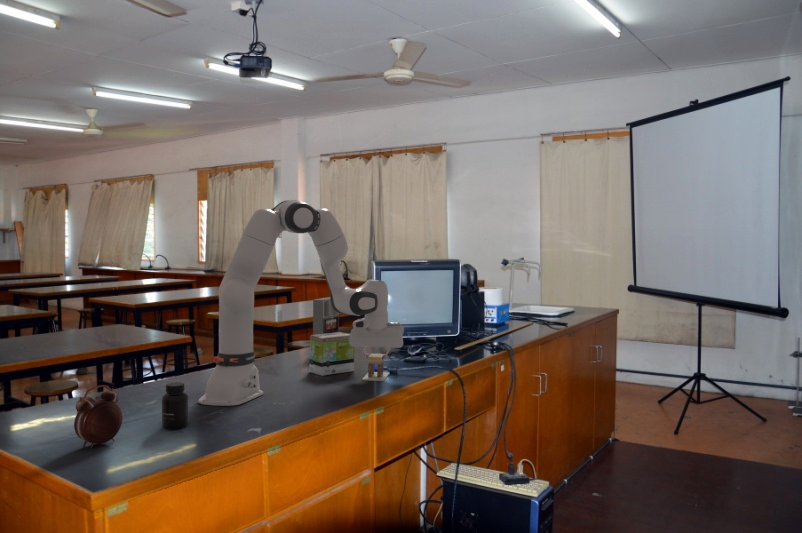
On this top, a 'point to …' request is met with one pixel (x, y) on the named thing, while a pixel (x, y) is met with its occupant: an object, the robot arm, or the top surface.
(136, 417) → the top surface
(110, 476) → the top surface
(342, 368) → the tea box
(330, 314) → the grey game cartridge
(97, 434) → the alarm clock
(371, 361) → the tan pronged block
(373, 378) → the mat
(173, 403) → the supplement bottle
